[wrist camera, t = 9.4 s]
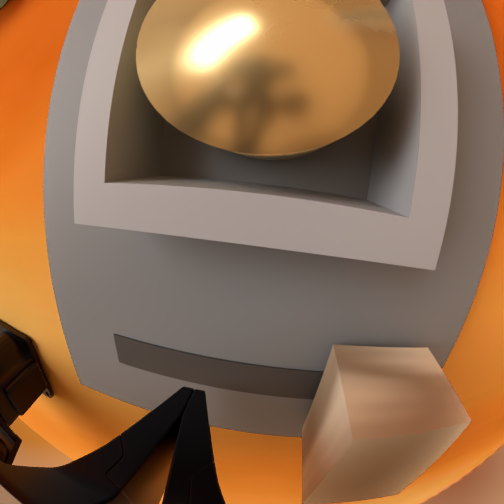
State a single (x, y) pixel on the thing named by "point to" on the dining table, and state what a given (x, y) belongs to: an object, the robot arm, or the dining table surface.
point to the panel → (266, 224)
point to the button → (267, 70)
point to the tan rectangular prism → (376, 423)
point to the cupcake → (2, 3)
